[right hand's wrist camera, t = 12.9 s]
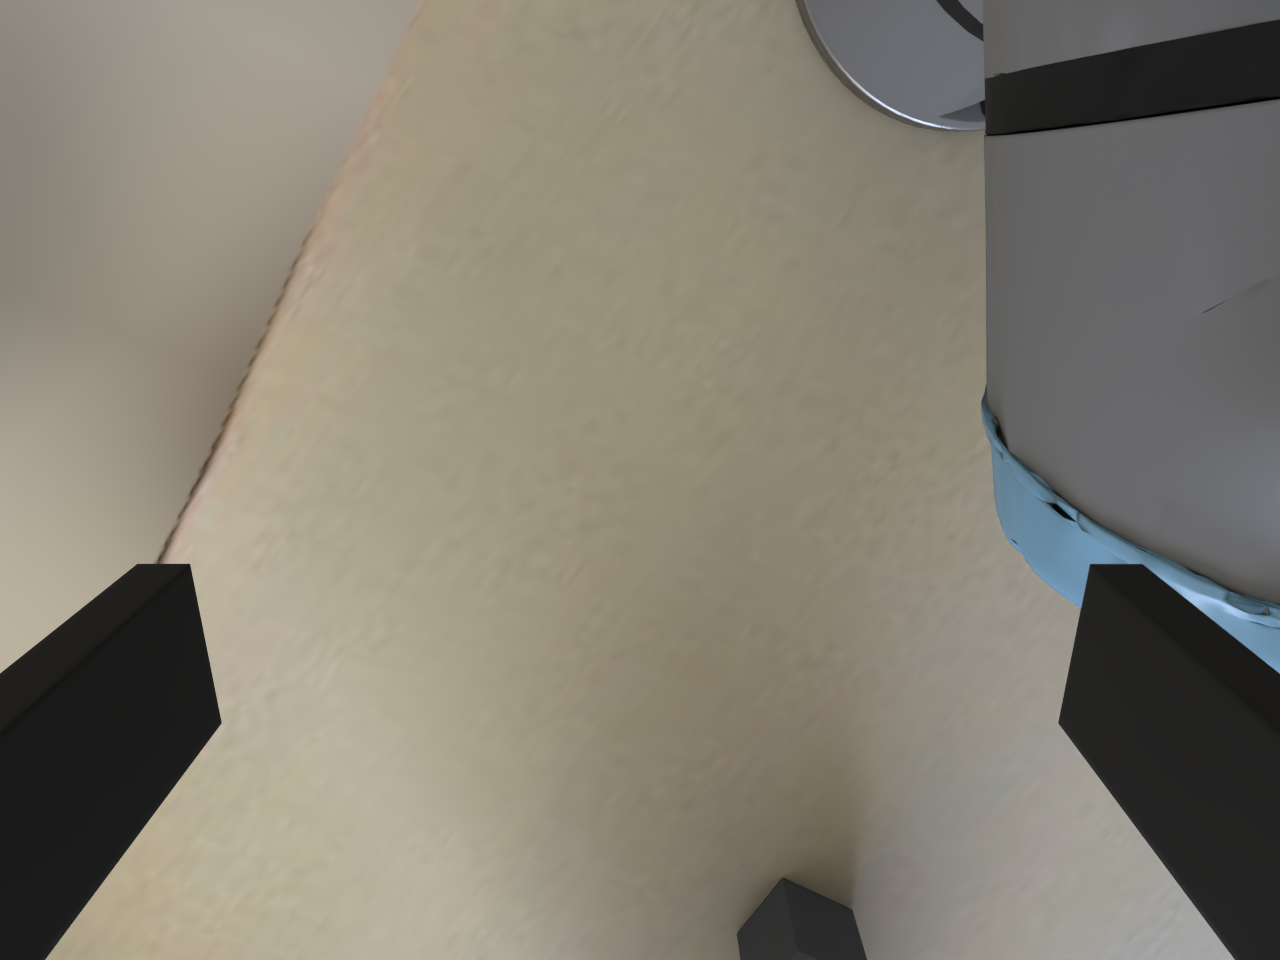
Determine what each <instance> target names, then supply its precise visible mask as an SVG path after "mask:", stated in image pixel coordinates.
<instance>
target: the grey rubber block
mask: <svg viewBox="0 0 1280 960" xmlns="http://www.w3.org/2000/svg"><path fill="white" fill-rule="evenodd" d="M737 938H738V945H739V952H740V959H741V960H867V958H866V955H865V951H864V948H863V944H862V941H861V938H860V934H859V931H858V928H857V924H856V921H855V918H854V914H853V911H852V910H851V909H849V908H847V907H845V906H842V905H840V904H838V903H836V902H834V901H832V900H829V899H827V898H825V897H823V896H821V895H819V894H816V893H814V892H812V891H810V890H808V889H805V888H803V887H801V886H799V885H797V884H795V883H792V882H790V881H788V880H786V879H784V878H782V879H781V880H780V882H779V883H778V884H777V885H776V887H775V888H774V889H773V890H772V891H771V893H770V894H769V895H768V896H767V898H766V899H765V900H764V901H763V903H762V904H761V905H760V906H759V908H758V909H757V910H756V911H755V912H754V914H753V915H752V916H751V917H750V919H749V920H748V921H747V922H746V924H745V925H744V926H743V927H742V929H741V930H740V931H739V932H738V934H737Z"/></svg>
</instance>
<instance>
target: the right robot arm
mask: <svg viewBox="0 0 1280 960" xmlns="http://www.w3.org/2000/svg"><path fill="white" fill-rule="evenodd" d="M796 3H797V6H798V9H799V12H800V14H801V17H802V20H803V23H804V25H805V27H806V29H807V31H808V34H809V36H810V38H811V40H812V42H813V43H814V45H815V47H816V49H817V50H818V52H819V54H820V55H821V57H822V58H823V60H824V61H825V62H826V64H827V65H828V67H829V68H830V69H831V71H832V72H833V73H834V74H835V75H836V76H837V77H838V79H839V80H840V81H841V82H842V83H843V84H844V85H845V86H846V87H847V88H848V89H849V90H851V91H852V92H853V93H854V94H855V95H856V96H857V97H859V98H860V99H861V100H863V101H864V102H866V103H867V104H868V105H870V106H871V107H873V108H874V109H876V110H878V111H880V112H882V113H883V114H885V115H887V116H889V117H892V118H894V119H896V120H899V121H901V122H904V123H907V124H910V125H914V126H917V127H921V128H926V129H932V130H938V131H953V132H958V131H977V130H986V131H985V134H987V135H984V154H985V204H986V336H987V384H986V388H985V393H984V396H983V399H982V402H981V403H982V407H981V412H982V421H983V425H984V428H985V431H986V434H987V437H988V439H989V440H990V442H991V452H992V467H993V481H994V495H995V504H996V510H997V514H998V517H999V520H1000V523H1001V526H1002V528H1003V530H1004V533H1005V535H1006V537H1007V538H1008V540H1009V542H1010V543H1011V544H1012V545H1013V546H1014V547H1015V548H1016V549H1017V550H1018V551H1019V552H1020V553H1021V554H1022V555H1023V556H1024V557H1025V559H1026V562H1027V563H1028V564H1029V565H1030V567H1031V568H1032V570H1033V571H1034V572H1035V573H1036V574H1037V575H1038V576H1039V577H1040V578H1041V579H1042V580H1043V581H1044V582H1045V583H1047V584H1048V585H1049V586H1050V587H1051V588H1053V589H1054V590H1055V591H1057V592H1058V593H1060V594H1061V595H1062V596H1064V597H1065V598H1067V599H1068V600H1070V601H1071V602H1073V603H1074V604H1076V605H1077V606H1079V607H1081V612H1080V617H1079V622H1078V627H1077V632H1076V637H1075V642H1074V647H1073V652H1072V657H1071V662H1070V667H1069V672H1068V677H1067V682H1066V687H1065V692H1064V698H1063V703H1062V708H1061V713H1060V718H1059V725H1060V726H1061V727H1062V729H1063V730H1064V731H1065V733H1066V734H1067V735H1068V737H1069V738H1070V739H1071V741H1072V742H1073V743H1074V745H1075V746H1076V747H1077V749H1078V750H1079V751H1080V753H1081V754H1082V755H1083V757H1084V758H1085V759H1086V761H1087V762H1088V763H1089V765H1090V766H1091V767H1092V769H1093V770H1094V771H1095V773H1096V774H1097V775H1098V777H1099V778H1100V779H1101V781H1102V782H1103V783H1104V785H1105V786H1106V788H1107V789H1108V790H1109V792H1110V793H1111V794H1112V796H1113V797H1114V798H1115V800H1116V801H1117V802H1118V804H1119V805H1120V806H1121V808H1122V809H1123V810H1124V812H1125V813H1126V814H1127V816H1128V817H1129V818H1130V820H1131V821H1132V822H1133V824H1134V825H1135V826H1136V828H1137V829H1138V830H1139V832H1140V833H1141V834H1142V836H1143V837H1144V838H1145V840H1146V841H1147V842H1148V844H1149V845H1150V846H1151V848H1152V849H1153V850H1154V852H1155V853H1156V854H1157V856H1158V857H1159V858H1160V860H1161V861H1162V863H1163V864H1164V865H1165V867H1166V868H1167V869H1168V871H1169V872H1170V873H1171V875H1172V876H1173V877H1174V879H1175V880H1176V881H1177V883H1178V884H1179V885H1180V887H1181V888H1182V889H1183V891H1184V892H1185V893H1186V895H1187V896H1188V897H1189V899H1190V900H1191V901H1192V903H1193V904H1194V905H1195V907H1196V908H1197V909H1198V911H1199V912H1200V913H1201V915H1202V916H1203V917H1204V919H1205V920H1206V921H1207V923H1208V924H1209V925H1210V927H1211V928H1212V929H1213V931H1214V932H1215V933H1216V935H1217V936H1218V938H1219V939H1220V940H1221V942H1222V943H1223V944H1224V946H1225V947H1226V948H1227V950H1228V951H1229V952H1230V954H1231V955H1232V956H1233V958H1234V959H1235V960H1280V0H796ZM220 725H221V718H220V713H219V708H218V703H217V698H216V692H215V687H214V682H213V677H212V672H211V667H210V662H209V657H208V652H207V647H206V642H205V637H204V632H203V627H202V622H201V617H200V612H199V607H198V602H197V597H196V592H195V587H194V582H193V577H192V572H191V567H190V564H137V565H136V566H134V567H133V568H132V569H131V570H129V571H128V572H127V573H126V574H124V575H123V576H122V577H121V578H119V579H118V580H117V581H116V582H114V583H113V584H112V585H111V586H109V587H108V588H107V589H106V590H104V591H103V592H102V593H101V594H99V595H98V596H97V597H96V598H94V599H93V600H92V601H91V602H89V603H88V604H87V605H86V606H84V607H83V608H82V609H81V610H79V611H78V612H77V613H76V614H74V615H73V616H72V617H71V618H69V619H68V620H67V621H66V622H64V623H63V624H62V625H60V626H59V627H58V628H57V629H55V630H54V631H53V632H52V633H50V634H49V635H48V636H47V637H45V638H44V639H43V640H42V641H40V642H39V643H38V644H37V645H35V646H34V647H33V648H32V649H30V650H29V651H28V652H27V653H25V654H24V655H23V656H22V657H20V658H19V659H18V660H17V661H15V662H14V663H13V664H12V665H10V666H9V667H8V668H7V669H5V670H4V671H3V672H2V673H0V960H45V959H46V958H47V956H48V955H49V954H50V952H51V951H52V950H53V948H54V947H55V946H56V944H57V943H58V942H59V940H60V939H61V938H62V936H63V935H64V933H65V932H66V931H67V929H68V928H69V927H70V925H71V924H72V923H73V921H74V920H75V919H76V917H77V916H78V915H79V913H80V912H81V911H82V909H83V908H84V907H85V905H86V904H87V903H88V901H89V900H90V899H91V897H92V896H93V895H94V893H95V892H96V891H97V889H98V888H99V887H100V885H101V884H102V883H103V881H104V880H105V879H106V877H107V876H108V875H109V873H110V872H111V871H112V869H113V868H114V867H115V865H116V864H117V863H118V861H119V860H120V858H121V857H122V856H123V854H124V853H125V852H126V850H127V849H128V848H129V846H130V845H131V844H132V842H133V841H134V840H135V838H136V837H137V836H138V834H139V833H140V832H141V830H142V829H143V828H144V826H145V825H146V824H147V822H148V821H149V820H150V818H151V817H152V816H153V814H154V813H155V812H156V810H157V809H158V808H159V806H160V805H161V804H162V802H163V801H164V800H165V798H166V797H167V796H168V794H169V793H170V792H171V790H172V789H173V788H174V786H175V785H176V783H177V782H178V781H179V779H180V778H181V777H182V775H183V774H184V773H185V771H186V770H187V769H188V767H189V766H190V765H191V763H192V762H193V761H194V759H195V758H196V757H197V755H198V754H199V753H200V751H201V750H202V749H203V747H204V746H205V745H206V743H207V742H208V741H209V739H210V738H211V737H212V735H213V734H214V733H215V731H216V730H217V729H218V727H219V726H220Z"/></svg>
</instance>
